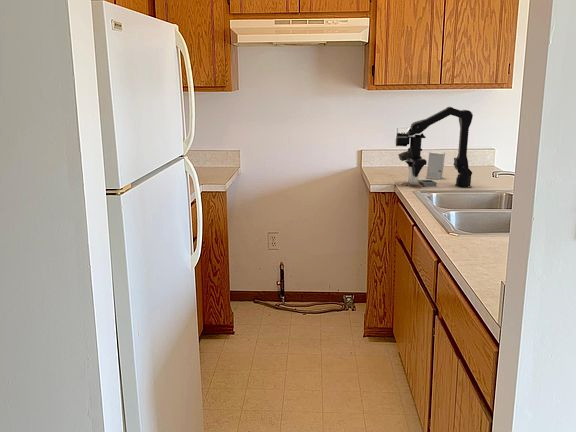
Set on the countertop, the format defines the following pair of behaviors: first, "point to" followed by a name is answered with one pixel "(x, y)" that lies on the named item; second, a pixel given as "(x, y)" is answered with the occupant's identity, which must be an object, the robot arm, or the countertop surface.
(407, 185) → the walnut pad
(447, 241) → the countertop surface
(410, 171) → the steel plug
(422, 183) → the square metal frame
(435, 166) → the skincare box
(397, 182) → the countertop surface
